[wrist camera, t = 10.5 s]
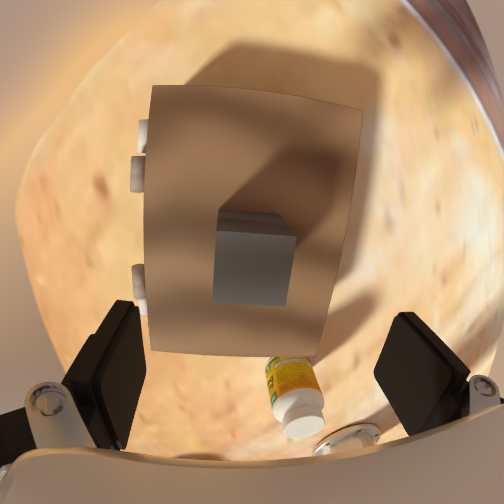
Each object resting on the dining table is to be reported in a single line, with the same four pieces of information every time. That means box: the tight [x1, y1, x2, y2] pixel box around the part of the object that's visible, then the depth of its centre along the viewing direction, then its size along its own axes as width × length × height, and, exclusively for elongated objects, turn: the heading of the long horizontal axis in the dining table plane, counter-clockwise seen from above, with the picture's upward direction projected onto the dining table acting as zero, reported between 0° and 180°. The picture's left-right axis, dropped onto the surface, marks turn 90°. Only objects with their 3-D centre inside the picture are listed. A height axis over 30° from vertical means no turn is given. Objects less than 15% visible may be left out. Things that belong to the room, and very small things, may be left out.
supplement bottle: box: [265, 357, 325, 439], centre depth 28 cm, size 5×5×10 cm
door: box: [130, 85, 363, 357], centre depth 18 cm, size 20×15×6 cm
